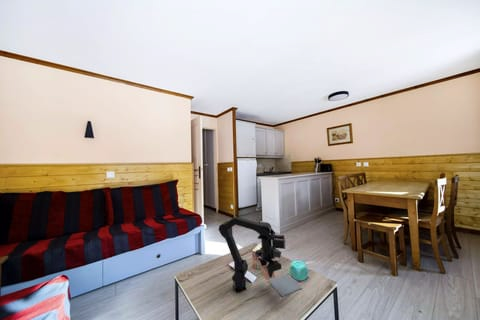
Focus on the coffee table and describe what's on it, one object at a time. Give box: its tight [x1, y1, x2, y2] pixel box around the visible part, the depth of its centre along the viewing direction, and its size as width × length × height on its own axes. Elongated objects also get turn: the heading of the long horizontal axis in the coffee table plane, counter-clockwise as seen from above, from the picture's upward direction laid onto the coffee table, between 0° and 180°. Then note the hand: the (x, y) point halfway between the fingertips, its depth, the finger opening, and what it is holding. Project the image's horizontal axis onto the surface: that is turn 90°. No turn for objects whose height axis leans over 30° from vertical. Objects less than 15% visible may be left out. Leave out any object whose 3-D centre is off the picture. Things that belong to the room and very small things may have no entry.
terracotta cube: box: [261, 264, 276, 281], centre depth 98 cm, size 5×5×5 cm
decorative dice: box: [289, 260, 309, 282], centre depth 111 cm, size 8×8×8 cm
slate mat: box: [267, 273, 303, 298], centre depth 104 cm, size 14×14×1 cm
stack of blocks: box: [251, 243, 262, 271], centre depth 131 cm, size 21×6×12 cm, turn 149°
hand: (268, 274), depth 98 cm, fingers closed on terracotta cube, 5 cm apart
